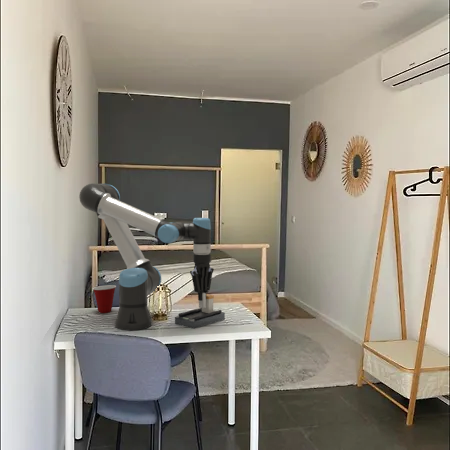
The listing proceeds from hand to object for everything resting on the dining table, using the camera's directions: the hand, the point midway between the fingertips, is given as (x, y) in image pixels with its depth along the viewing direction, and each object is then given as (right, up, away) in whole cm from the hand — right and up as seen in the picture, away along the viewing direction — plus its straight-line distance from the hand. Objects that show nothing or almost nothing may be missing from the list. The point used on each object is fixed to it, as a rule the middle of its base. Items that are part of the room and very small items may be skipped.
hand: (202, 307), depth 215 cm
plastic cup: (-47, -5, +17) cm, 50 cm away
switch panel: (-1, -6, 0) cm, 6 cm away
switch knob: (+2, -3, +3) cm, 5 cm away
